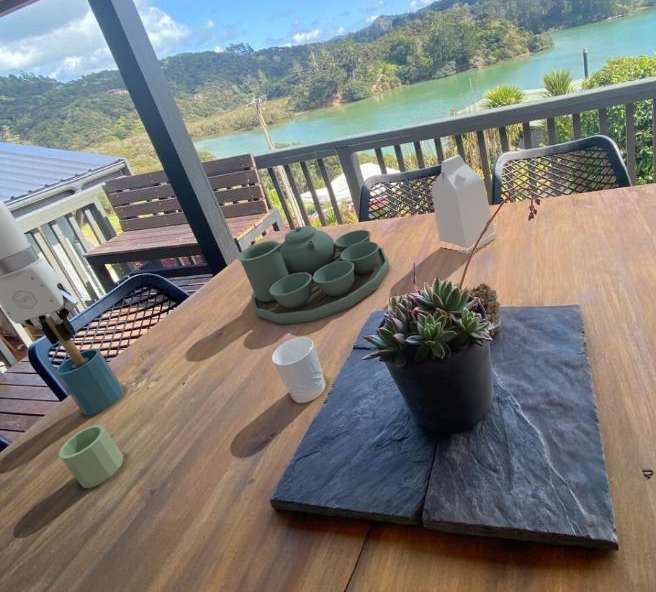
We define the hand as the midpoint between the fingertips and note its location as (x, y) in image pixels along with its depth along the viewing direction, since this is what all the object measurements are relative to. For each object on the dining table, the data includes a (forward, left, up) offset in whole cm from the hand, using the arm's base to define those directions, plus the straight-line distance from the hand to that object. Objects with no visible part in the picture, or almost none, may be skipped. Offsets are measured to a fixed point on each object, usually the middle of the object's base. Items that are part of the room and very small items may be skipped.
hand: (64, 338), depth 91 cm
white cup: (+50, +9, -18) cm, 54 cm away
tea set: (+30, +49, -18) cm, 60 cm away
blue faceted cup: (0, 0, -18) cm, 18 cm away
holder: (+20, -14, -18) cm, 30 cm away
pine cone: (+80, +24, -18) cm, 85 cm away
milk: (+68, +70, -18) cm, 100 cm away
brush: (0, 0, -12) cm, 12 cm away
